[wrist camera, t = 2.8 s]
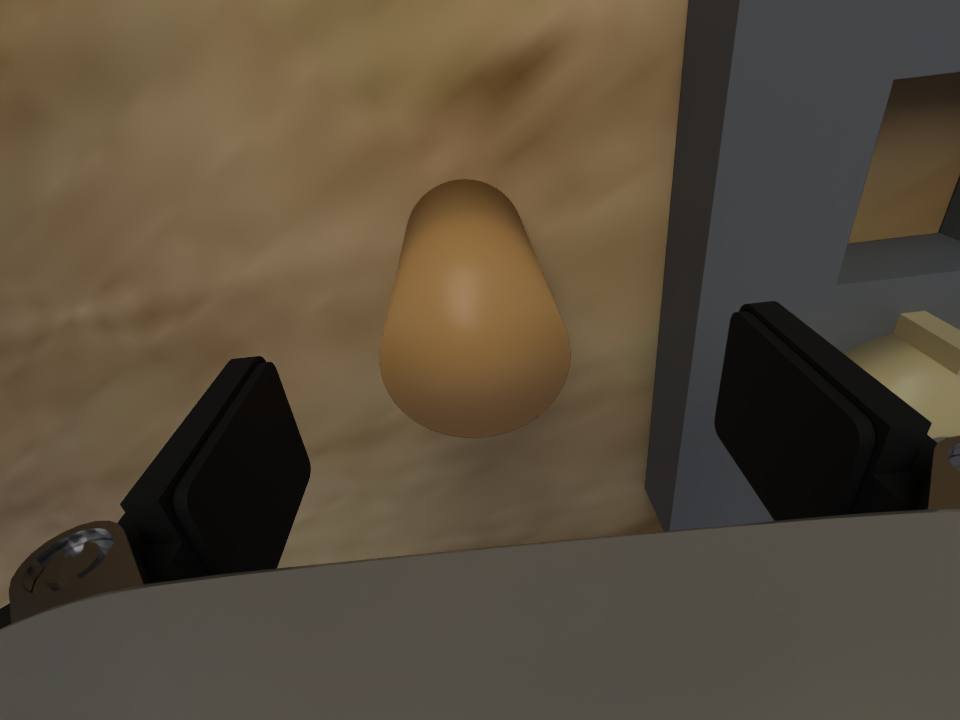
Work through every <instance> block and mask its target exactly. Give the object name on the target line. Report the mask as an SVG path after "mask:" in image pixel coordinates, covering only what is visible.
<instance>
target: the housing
mask: <svg viewBox="0 0 960 720" xmlns="http://www.w3.org/2000/svg"><path fill="white" fill-rule="evenodd" d="M954 72H960V0H689V5H688V16H687V27H686V38H685V49H684V60H683V72H682V83H681V94H680V105H679V116H678V127H677V138H676V149H675V160H674V172H673V183H672V194H671V205H670V216H669V227H668V238H667V249H666V260H665V272H664V283H663V294H662V305H661V316H660V327H659V338H658V349H657V360H656V372H655V383H654V394H653V405H652V416H651V427H650V438H649V449H648V460H647V472H646V483H645V490H646V492H647V494H648V496H649V499H650V501H651V503H652V505H653V508H654V510H655V512H656V514H657V517H658V519H659V521H660V524H661V526H662V528H663V530H664V531H669V530H680V529H691V528H702V527H713V526H724V525H735V524H747V523H758V522H769V521H774V519H773V518H772V516H771V515H770V513H769V512H768V510H767V509H766V507H765V506H764V505H763V503H762V502H761V500H760V499H759V497H758V496H757V494H756V493H755V491H754V490H753V488H752V487H751V485H750V484H749V482H748V481H747V479H746V478H745V476H744V475H743V473H742V472H741V470H740V469H739V467H738V466H737V464H736V463H735V461H734V460H733V458H732V457H731V455H730V454H729V452H728V451H727V449H726V448H725V446H724V445H723V443H722V442H721V440H720V439H719V437H718V435H717V433H716V430H715V424H714V420H715V413H716V406H717V400H718V394H719V387H720V381H721V375H722V368H723V362H724V356H725V349H726V343H727V337H728V330H729V324H730V319H731V316H732V314H733V313H734V312H739V310H740V308H741V306H742V305H744V304H750V303H759V302H768V301H776V302H778V303H779V304H781V305H782V306H783V307H785V308H786V309H787V310H788V311H790V312H791V313H792V314H794V315H795V316H796V317H797V318H799V319H800V320H801V321H802V322H804V323H805V324H806V325H808V326H809V327H810V328H811V329H813V330H814V331H815V332H817V333H818V334H819V335H820V336H822V337H823V338H824V339H825V340H827V341H828V342H829V343H831V344H832V345H833V346H834V347H836V348H837V349H838V350H839V351H841V352H842V353H843V354H845V355H846V356H847V357H848V358H850V359H851V360H852V361H854V362H855V363H856V364H857V365H859V366H860V367H861V368H862V369H864V370H865V371H866V372H868V373H869V374H870V375H871V376H873V377H874V378H875V379H877V380H878V381H879V382H880V383H882V384H883V385H884V386H885V387H887V388H888V389H889V390H891V391H892V392H893V393H894V394H896V395H897V396H898V397H900V398H901V399H902V400H903V401H905V402H906V403H907V404H908V405H910V406H911V407H912V408H914V409H915V410H916V411H917V412H919V413H920V414H921V415H923V416H924V417H925V418H926V419H928V420H929V421H930V422H931V423H932V424H931V427H930V429H929V431H928V434H927V435H928V436H930V437H931V438H932V439H933V440H935V441H936V442H937V443H938V442H940V441H942V440H944V439H945V438H948V437H954V436H960V179H959V181H958V184H957V187H956V189H955V192H954V195H953V197H952V200H951V203H950V205H949V208H948V211H947V213H946V216H945V219H944V221H943V224H942V227H941V229H940V232H939V233H935V234H926V235H918V236H909V237H901V238H893V239H884V240H876V241H867V242H859V243H851V244H848V240H849V237H850V233H851V230H852V226H853V223H854V219H855V215H856V212H857V208H858V205H859V201H860V198H861V194H862V191H863V187H864V184H865V180H866V176H867V173H868V169H869V166H870V162H871V159H872V155H873V152H874V148H875V144H876V141H877V137H878V134H879V130H880V127H881V123H882V120H883V116H884V112H885V109H886V105H887V102H888V98H889V95H890V91H891V88H892V84H893V80H896V79H904V78H913V77H921V76H929V75H937V74H946V73H954Z"/></svg>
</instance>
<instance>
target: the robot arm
mask: <svg viewBox="0 0 960 720" xmlns="http://www.w3.org/2000/svg"><path fill="white" fill-rule="evenodd" d="M714 424H715V430H716V433H717V435H718V437H719V439H720V440H721V442H722V443H723V445H724V446H725V448H726V449H727V451H728V452H729V454H730V455H731V457H732V458H733V460H734V461H735V463H736V464H737V466H738V467H739V469H740V470H741V472H742V473H743V475H744V476H745V478H746V479H747V481H748V482H749V484H750V485H751V487H752V488H753V490H754V491H755V493H756V494H757V496H758V497H759V499H760V500H761V502H762V503H763V505H764V506H765V507H766V509H767V510H768V512H769V513H770V515H771V516H772V518H773V519H774V521H769V522H758V523H747V524H735V525H724V526H713V527H702V528H691V529H680V530H669V531H658V532H646V533H635V534H624V535H614V536H603V537H592V538H582V539H571V540H561V541H550V542H540V543H529V544H519V545H508V546H498V547H488V548H477V549H467V550H457V551H446V552H436V553H426V554H416V555H406V556H396V557H387V558H377V559H367V560H357V561H347V562H337V563H327V564H317V565H308V566H298V567H288V568H278V569H277V567H278V564H279V561H280V558H281V556H282V553H283V550H284V547H285V544H286V542H287V539H288V536H289V533H290V531H291V528H292V525H293V522H294V520H295V517H296V514H297V511H298V509H299V506H300V503H301V500H302V497H303V495H304V492H305V489H306V486H307V484H308V481H309V478H310V472H311V467H310V461H309V458H308V455H307V452H306V450H305V447H304V444H303V441H302V438H301V436H300V433H299V430H298V427H297V425H296V422H295V419H294V416H293V414H292V411H291V408H290V405H289V402H288V400H287V397H286V394H285V391H284V389H283V386H282V383H281V380H280V378H279V375H278V372H277V369H276V367H275V365H274V364H273V363H272V362H266V361H265V359H264V358H263V357H261V356H257V357H247V358H238V359H231V360H230V361H229V362H228V363H227V365H226V366H225V367H224V369H223V370H222V371H221V372H220V374H219V375H218V376H217V378H216V379H215V380H214V382H213V383H212V384H211V386H210V387H209V388H208V390H207V391H206V392H205V393H204V395H203V396H202V397H201V399H200V400H199V401H198V403H197V404H196V405H195V407H194V408H193V409H192V410H191V412H190V413H189V414H188V416H187V417H186V418H185V420H184V421H183V422H182V424H181V425H180V426H179V428H178V429H177V430H176V431H175V433H174V434H173V435H172V437H171V438H170V439H169V441H168V442H167V443H166V445H165V446H164V447H163V449H162V450H161V451H160V452H159V454H158V455H157V456H156V458H155V459H154V460H153V462H152V463H151V464H150V466H149V467H148V468H147V469H146V471H145V472H144V473H143V475H142V476H141V477H140V479H139V480H138V481H137V483H136V484H135V485H134V487H133V488H132V489H131V490H130V492H129V493H128V494H127V496H126V497H125V498H124V500H123V501H122V502H121V504H120V505H121V506H122V508H123V510H124V511H125V514H124V515H123V516H122V518H121V519H120V520H119V522H118V523H115V522H112V521H94V522H90V523H86V524H82V525H79V526H77V527H74V528H72V529H70V530H67V531H65V532H63V533H61V534H59V535H58V536H56V537H54V538H52V539H51V540H49V541H47V542H46V543H45V544H43V545H42V546H41V547H39V548H38V549H37V550H35V551H34V552H33V553H32V554H31V555H30V556H29V557H28V558H27V559H26V560H25V561H24V562H23V563H22V564H21V565H20V566H19V568H18V569H17V571H16V572H15V574H14V576H13V577H12V579H11V583H10V587H9V600H10V604H8V605H6V606H5V607H3V608H1V609H0V720H960V436H954V437H948V438H945V439H944V440H942V441H940V442H938V443H937V442H936V441H935V440H933V439H932V438H931V437H930V436H928V435H927V434H928V431H929V429H930V427H931V424H932V423H931V422H930V421H929V420H928V419H926V418H925V417H924V416H923V415H921V414H920V413H919V412H917V411H916V410H915V409H914V408H912V407H911V406H910V405H908V404H907V403H906V402H905V401H903V400H902V399H901V398H900V397H898V396H897V395H896V394H894V393H893V392H892V391H891V390H889V389H888V388H887V387H885V386H884V385H883V384H882V383H880V382H879V381H878V380H877V379H875V378H874V377H873V376H871V375H870V374H869V373H868V372H866V371H865V370H864V369H862V368H861V367H860V366H859V365H857V364H856V363H855V362H854V361H852V360H851V359H850V358H848V357H847V356H846V355H845V354H843V353H842V352H841V351H839V350H838V349H837V348H836V347H834V346H833V345H832V344H831V343H829V342H828V341H827V340H825V339H824V338H823V337H822V336H820V335H819V334H818V333H817V332H815V331H814V330H813V329H811V328H810V327H809V326H808V325H806V324H805V323H804V322H802V321H801V320H800V319H799V318H797V317H796V316H795V315H794V314H792V313H791V312H790V311H788V310H787V309H786V308H785V307H783V306H782V305H781V304H779V303H778V302H776V301H768V302H759V303H750V304H744V305H742V306H741V308H740V310H739V312H734V313H733V314H732V316H731V319H730V324H729V330H728V337H727V343H726V349H725V356H724V362H723V368H722V375H721V381H720V387H719V394H718V400H717V406H716V413H715V420H714Z"/></svg>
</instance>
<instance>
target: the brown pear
mask: <svg viewBox="0 0 960 720" xmlns="http://www.w3.org/2000/svg"><path fill="white" fill-rule="evenodd" d="M379 356H380V370H381V376H382V379H383V382H384V385H385V387H386V389H387V391H388V393H389V395H390V397H391V398H392V399H393V401H394V402H395V404H396V405H397V406H398V407H399V408H400V409H401V410H402V411H403V412H404V413H405V414H406V415H407V416H408V417H410V418H411V419H412V420H414V421H415V422H417V423H418V424H420V425H422V426H424V427H426V428H428V429H430V430H433V431H435V432H438V433H441V434H445V435H449V436H454V437H462V438H482V437H490V436H496V435H500V434H504V433H507V432H510V431H512V430H515V429H518V428H520V427H522V426H523V425H525V424H527V423H529V422H530V421H532V420H533V419H535V418H536V417H538V416H539V415H540V414H541V413H543V412H544V411H545V410H546V409H547V408H548V407H549V406H550V405H551V404H552V402H553V401H554V400H555V398H556V397H557V396H558V394H559V393H560V391H561V389H562V387H563V385H564V383H565V380H566V378H567V375H568V371H569V367H570V357H571V351H570V341H569V338H568V334H567V331H566V328H565V326H564V323H563V321H562V318H561V316H560V314H559V311H558V309H557V306H556V304H555V301H554V299H553V297H552V294H551V292H550V289H549V287H548V284H547V282H546V280H545V277H544V275H543V272H542V270H541V267H540V265H539V263H538V260H537V258H536V255H535V253H534V250H533V248H532V246H531V243H530V241H529V238H528V236H527V233H526V231H525V229H524V226H523V224H522V221H521V219H520V217H519V214H518V212H517V210H516V208H515V207H514V205H513V204H512V202H511V201H510V200H509V199H508V198H507V197H506V196H505V195H504V194H503V193H502V192H501V191H499V190H498V189H497V188H495V187H493V186H491V185H489V184H486V183H484V182H480V181H476V180H467V179H463V180H454V181H449V182H446V183H443V184H441V185H439V186H437V187H435V188H433V189H432V190H430V191H429V192H427V193H426V194H425V195H424V196H423V197H422V198H421V199H420V200H419V201H418V203H417V204H416V206H415V207H414V209H413V210H412V213H411V215H410V217H409V220H408V224H407V228H406V233H405V237H404V242H403V246H402V251H401V255H400V260H399V264H398V269H397V273H396V278H395V282H394V287H393V292H392V296H391V301H390V305H389V310H388V314H387V319H386V323H385V328H384V332H383V337H382V341H381V347H380V354H379Z"/></svg>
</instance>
